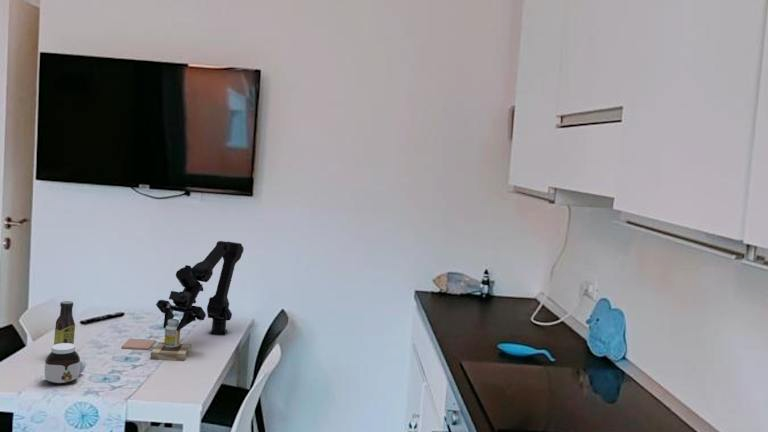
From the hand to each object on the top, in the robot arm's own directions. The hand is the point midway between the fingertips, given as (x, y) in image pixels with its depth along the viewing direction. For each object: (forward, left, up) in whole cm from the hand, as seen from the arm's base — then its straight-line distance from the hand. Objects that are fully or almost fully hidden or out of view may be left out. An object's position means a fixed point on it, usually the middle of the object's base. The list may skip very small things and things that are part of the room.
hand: (170, 329), depth 233 cm
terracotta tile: (-10, -13, -10) cm, 19 cm away
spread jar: (+28, -27, -10) cm, 40 cm away
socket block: (-1, 0, -10) cm, 10 cm away
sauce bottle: (+8, -35, -10) cm, 37 cm away
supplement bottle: (-1, +1, -7) cm, 7 cm away
